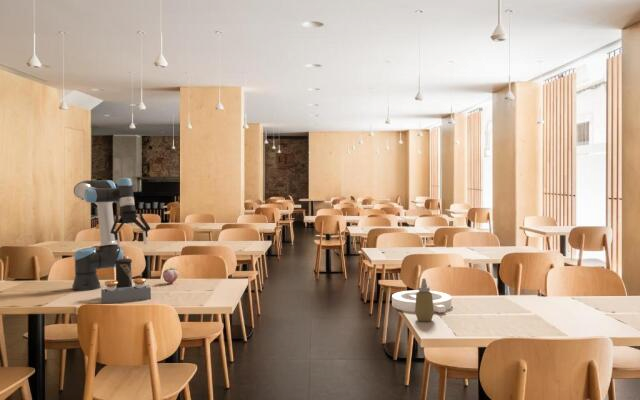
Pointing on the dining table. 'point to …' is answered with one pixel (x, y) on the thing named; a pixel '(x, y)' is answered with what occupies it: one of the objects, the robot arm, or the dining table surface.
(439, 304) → the ring with crossbar
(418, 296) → the squeeze bottle
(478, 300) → the dining table surface
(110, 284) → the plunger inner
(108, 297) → the grey block stand
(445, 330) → the dining table surface
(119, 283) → the container
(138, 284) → the gold lidded jar
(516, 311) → the dining table surface
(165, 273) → the decorative fruit
